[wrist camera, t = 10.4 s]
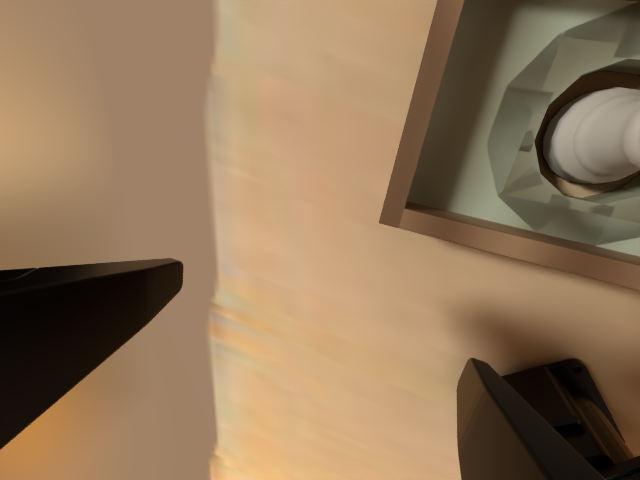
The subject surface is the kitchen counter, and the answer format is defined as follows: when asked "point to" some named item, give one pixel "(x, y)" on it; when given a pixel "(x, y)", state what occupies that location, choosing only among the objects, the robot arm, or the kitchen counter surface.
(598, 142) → the rook chess piece
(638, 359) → the kitchen counter surface
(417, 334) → the kitchen counter surface
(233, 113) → the kitchen counter surface
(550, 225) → the bore tray
